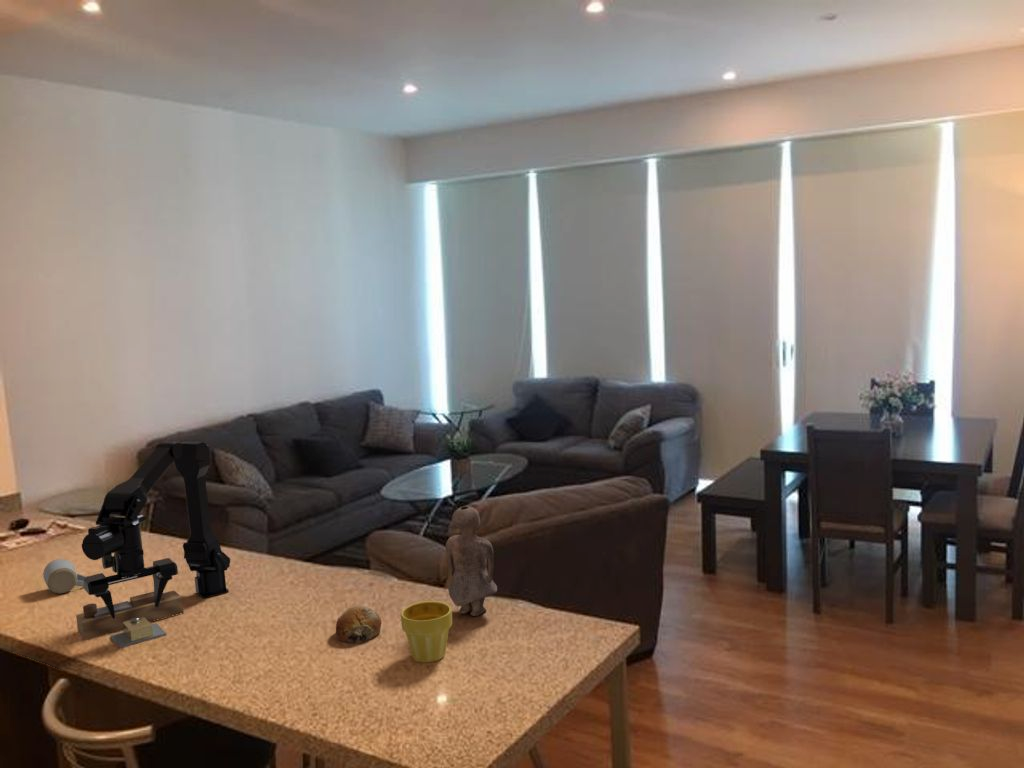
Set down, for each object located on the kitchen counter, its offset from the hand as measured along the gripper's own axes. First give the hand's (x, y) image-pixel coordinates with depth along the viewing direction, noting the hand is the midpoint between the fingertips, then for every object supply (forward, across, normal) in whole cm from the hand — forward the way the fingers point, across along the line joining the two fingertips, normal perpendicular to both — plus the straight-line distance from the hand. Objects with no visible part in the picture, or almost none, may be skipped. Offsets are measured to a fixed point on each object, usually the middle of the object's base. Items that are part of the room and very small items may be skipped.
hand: (135, 612), depth 193 cm
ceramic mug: (+6, +6, -48) cm, 49 cm away
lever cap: (+5, 0, 0) cm, 5 cm away
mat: (+6, 0, 0) cm, 6 cm away
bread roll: (+6, -38, +34) cm, 51 cm away
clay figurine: (+6, -63, +42) cm, 76 cm away
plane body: (+6, -1, -10) cm, 12 cm away
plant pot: (+6, -43, +55) cm, 70 cm away
